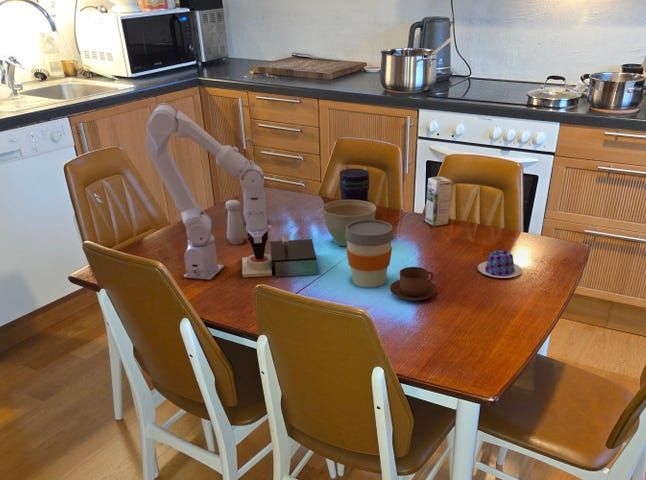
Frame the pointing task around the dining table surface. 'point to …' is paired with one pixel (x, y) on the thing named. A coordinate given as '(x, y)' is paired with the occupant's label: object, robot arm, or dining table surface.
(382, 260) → the reusable coffee cup
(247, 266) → the button base
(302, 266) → the dark green box
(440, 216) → the syrup box
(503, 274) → the pudding
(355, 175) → the storage jar
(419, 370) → the dining table surface
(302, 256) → the lid
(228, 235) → the salt shaker
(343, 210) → the planter bowl
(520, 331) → the dining table surface
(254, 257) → the button
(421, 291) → the cup and saucer
